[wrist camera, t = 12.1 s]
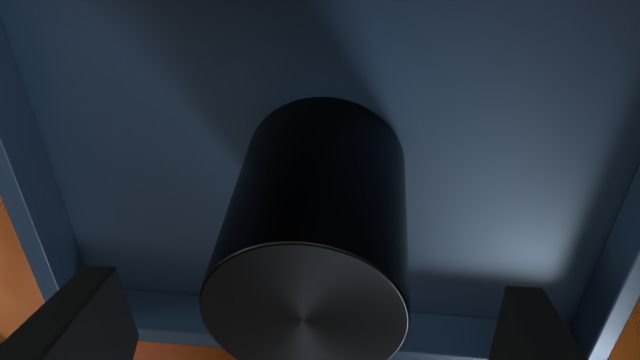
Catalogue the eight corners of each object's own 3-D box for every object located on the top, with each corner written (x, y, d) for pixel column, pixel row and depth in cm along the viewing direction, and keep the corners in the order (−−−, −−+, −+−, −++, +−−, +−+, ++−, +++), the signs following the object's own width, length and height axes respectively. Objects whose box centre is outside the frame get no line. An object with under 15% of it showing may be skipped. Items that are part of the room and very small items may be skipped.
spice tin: (293, 66, 13) (253, 206, 9) (436, 146, 14) (455, 303, 10) (223, 181, 16) (168, 334, 12) (351, 243, 16) (339, 404, 13)
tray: (763, -89, 11) (827, -59, 9) (580, 325, 18) (598, 380, 17) (-55, -116, 12) (-122, -94, 10) (84, 285, 19) (57, 334, 18)
